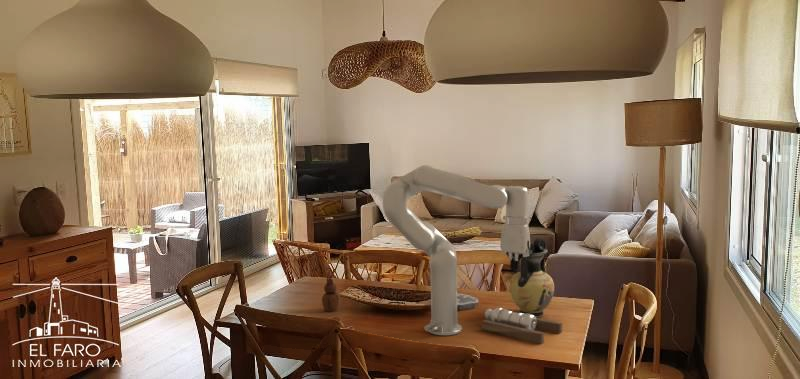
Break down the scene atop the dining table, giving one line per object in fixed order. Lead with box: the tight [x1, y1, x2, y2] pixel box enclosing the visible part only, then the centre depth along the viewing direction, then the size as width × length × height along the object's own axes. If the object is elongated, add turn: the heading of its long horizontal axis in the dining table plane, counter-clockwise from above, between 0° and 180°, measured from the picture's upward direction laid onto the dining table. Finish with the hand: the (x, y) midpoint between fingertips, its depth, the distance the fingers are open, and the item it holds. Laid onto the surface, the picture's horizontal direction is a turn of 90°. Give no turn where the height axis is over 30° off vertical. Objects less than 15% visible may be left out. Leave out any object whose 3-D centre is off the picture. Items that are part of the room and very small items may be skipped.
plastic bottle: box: [484, 307, 537, 331], centre depth 237 cm, size 6×7×20 cm
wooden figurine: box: [321, 275, 340, 313], centre depth 264 cm, size 7×6×15 cm
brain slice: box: [457, 293, 480, 311], centre depth 269 cm, size 20×17×3 cm
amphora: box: [509, 237, 555, 318], centre depth 253 cm, size 18×17×30 cm
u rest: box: [481, 317, 563, 345], centre depth 234 cm, size 16×24×4 cm, turn 49°
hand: (514, 270), depth 233 cm, fingers closed
